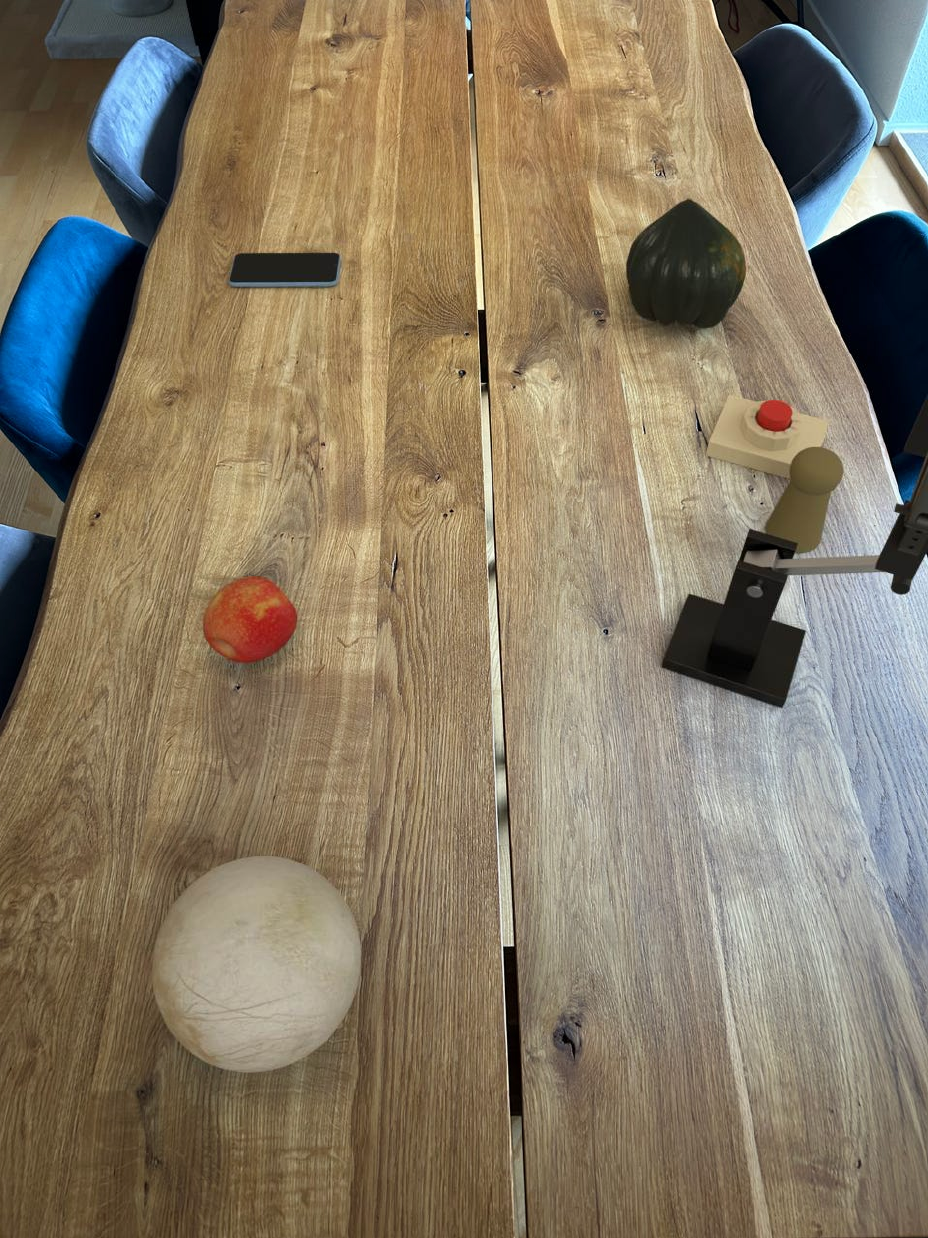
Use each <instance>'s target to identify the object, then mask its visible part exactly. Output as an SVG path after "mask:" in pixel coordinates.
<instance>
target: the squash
mask: <svg viewBox="0 0 928 1238" xmlns="http://www.w3.org/2000/svg"><path fill="white" fill-rule="evenodd" d="M625 275H626V281H627V285H628V287H627V288H628V294H629V298H630V302H631V304H632V306H633V309H634V311H635V312H636V313H637V315H639V316H640V317H641V318H643V319H645V320H647V321H650V322H651V321H653V322H658V323H659V324H660V325H662V326H664V327H665V326H667V327H668V326H671V325H673V324H674V323H675V322H677V324H679V325H681V326H685V327H686V326H691V325H692V326H693V327H696V328H699V329H710V328H713V327H716V326H718V325H719V324H720V323H721V322H722V321H723V320H724V318H725V317H726V316H727V315H728V312H729V310H730V308H731V307H732V306H733V305H734V304H735V302H736V301H737V300H738V297H739V295H740V293H741V292H742V290H743V286H744V283H745V279H746V275H747V264H746V257H745V253H744V249H743V247H742V245H741V243H740V242H739V240H738V239H737V237H736V236H735V235H734V233H733V232H731V230H730V229H729V228H728V227H726V226H725V225H724V224H723V223H722V222H721V221H720V220H718V218H716V217H715V216H714V215H713V214H711V213H710V212H709V211H708V210H707V209H705V208H704V207H703V206H702V205H701V204H699V203H698V202H697V201H695V200H693V199H692V198H689V197H688V198H686V199H685V200H683V201H680V202H679V203H676V205H674V206H673V207H671V208H670V209H669V210H668V211H666V212H664V214H662V215H661V216H660V217H659V218H658V217H657V219H655V220H654V221H653V222H651V223H650V224H648V226H646V227H645V228H644V229H643V230H642V231H641V232H640V233H638V235H637V236H636V238H635V239H634V241H632V243H631V246H630V247H629V252H628V255H627V259H626V263H625Z"/></svg>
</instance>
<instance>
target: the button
mask: <svg viewBox="0 0 928 1238" xmlns="http://www.w3.org/2000/svg"><path fill="white" fill-rule="evenodd" d="M764 401H765V402H764V403H762V405H761V406H760V410H759V413H758V417H757V422H758V424H759V426H761V427H762V428H763V429H765V430H769V431H773V432H780V431H784V430H785V429H786V428H787V427H788V426H789V423H790V420H791V417H792V409H791V407H792V406H791V405H789V404H788V403H786V402H785V401H782V400H779V399H769V400H768V399H767V400H764ZM790 406H791V407H790Z"/></svg>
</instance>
